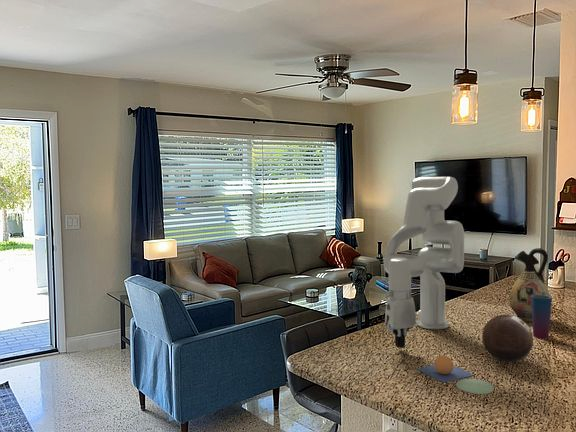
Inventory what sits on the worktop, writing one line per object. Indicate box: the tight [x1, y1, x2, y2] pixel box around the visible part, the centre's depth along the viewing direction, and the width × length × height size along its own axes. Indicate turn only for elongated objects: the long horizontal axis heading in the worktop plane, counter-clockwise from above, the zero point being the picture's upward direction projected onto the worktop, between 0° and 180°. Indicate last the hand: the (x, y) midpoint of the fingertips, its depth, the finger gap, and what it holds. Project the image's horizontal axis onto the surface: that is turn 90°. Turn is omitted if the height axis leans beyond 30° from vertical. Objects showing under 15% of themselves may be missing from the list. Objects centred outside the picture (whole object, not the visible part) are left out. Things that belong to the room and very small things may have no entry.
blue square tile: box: [416, 364, 475, 384], centre depth 155 cm, size 12×12×1 cm
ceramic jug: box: [508, 247, 551, 323], centre depth 208 cm, size 17×15×30 cm
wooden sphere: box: [481, 314, 534, 364], centre depth 162 cm, size 15×15×15 cm
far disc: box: [455, 378, 495, 395], centre depth 144 cm, size 10×10×1 cm
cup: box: [531, 294, 553, 339], centre depth 186 cm, size 7×7×15 cm
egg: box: [433, 354, 455, 375], centre depth 153 cm, size 6×6×6 cm
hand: (400, 346), depth 174 cm, fingers closed
